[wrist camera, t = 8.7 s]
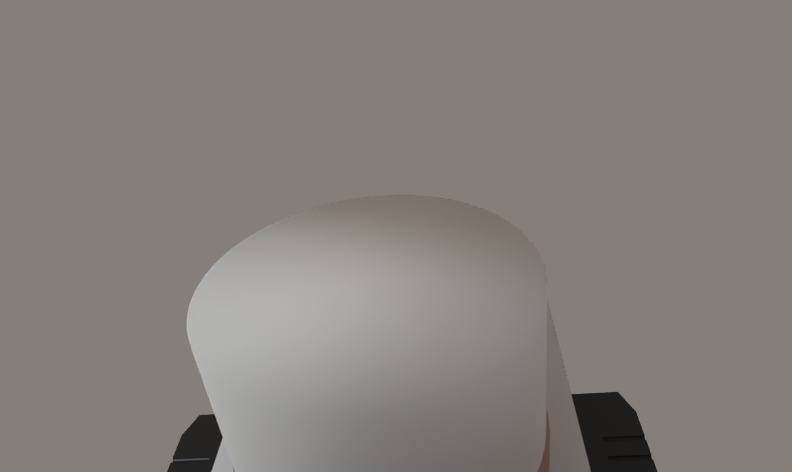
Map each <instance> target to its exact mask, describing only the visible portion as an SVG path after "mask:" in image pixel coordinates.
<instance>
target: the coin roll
mask: <svg viewBox="0 0 792 472" xmlns="http://www.w3.org/2000/svg"><path fill="white" fill-rule="evenodd" d="M187 335H188V338H189V342H190V346H191V349H192V352H193V355H194V358H195V361H196V363H197V366H198V369H199V372H200V375H201V377H202V380H203V383H204V386H205V389H206V391H207V394H208V397H209V400H210V403H211V406H212V408H213V411H214V414H215V417H216V420H217V423H218V425H219V428H220V431H221V434H222V437H223V439H224V442H225V445H226V448H227V451H228V454H229V456H230V459H231V462H232V465H233V472H549V463H550V426H549V418H548V412H547V408H546V393H547V277H546V270H545V266H544V263H543V261H542V258H541V255H540V253H539V252H538V250H537V249H536V247H535V246H534V244H533V243H532V242H531V241H530V239H529V238H528V237H527V236H526V235H525V234H524V233H523V232H522V231H520V230H519V229H518V228H517V227H515V226H514V225H513V224H511V223H510V222H508V221H506V220H505V219H503V218H501V217H500V216H498V215H496V214H493V213H491V212H489V211H487V210H484V209H482V208H478V207H476V206H473V205H470V204H467V203H462V202H458V201H454V200H449V199H443V198H436V197H427V196H415V195H389V196H373V197H364V198H356V199H351V200H345V201H339V202H335V203H331V204H327V205H322V206H319V207H315V208H312V209H309V210H306V211H302V212H300V213H297V214H295V215H292V216H289V217H287V218H284V219H282V220H280V221H278V222H275V223H273V224H271V225H269V226H267V227H265V228H263V229H262V230H260V231H258V232H256V233H254V234H253V235H251V236H249V237H248V238H246V239H245V240H243V241H242V242H240V243H238V244H237V245H236V246H235V247H233V248H232V249H231V250H230V251H228V252H227V253H226V254H225V255H223V256H222V257H221V258H220V259H219V260H218V261H217V262H216V264H214V265H213V267H211V269H210V270H209V271H208V272H207V274H206V275H205V276H204V277H203V279H202V281H201V282H200V284H199V285H198V287H197V289H196V290H195V292H194V295H193V297H192V300H191V302H190V305H189V309H188V315H187Z"/></svg>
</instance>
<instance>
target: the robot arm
mask: <svg viewBox="0 0 792 472" xmlns="http://www.w3.org/2000/svg"><path fill="white" fill-rule="evenodd" d="M546 408H547V412H548V418H549V426H550V463H549V472H657V469H656V467H655V464H654V461H653V460H652V458H651V453H650V450H649V447H648V444H647V441H646V440H645V438H644V433H643V430H642V427H641V424H640V422H639V419H638V416H637V413H636V411H635V410H634V409H633V408H632V407H631V406H630V405H629V404H628V403H627V402H626V401H625V399H624V398H623V397H622V396H621V395H620V394H619V393H618V392H609V393H608V392H607V393H588V394H571V391H570V387H569V383H568V379H567V375H566V371H565V367H564V364H563V359H562V355H561V352H560V347H559V344H558V340H557V336H556V332H555V328H554V324H553V320H552V316H551V312H550V308H549V304H548V300H547V393H546ZM167 472H233V465H232V462H231V459H230V456H229V454H228V451H227V448H226V445H225V442H224V439H223V437H222V434H221V431H220V428H219V425H218V423H217V420H216V417H215V414H211V415H200V416H199V417H198V418H197V419H196V420H195V421H194V422H193V423H192V425H191V426H190V427H189V428H188V429H187V430H186V431H185V433H184V434H183V435H182V437H181V439H180V441H179V444H178V446H177V449H176V451H175V454H174V456H173V462H172V463H171V464H170V466H169V469H168V471H167Z"/></svg>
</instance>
